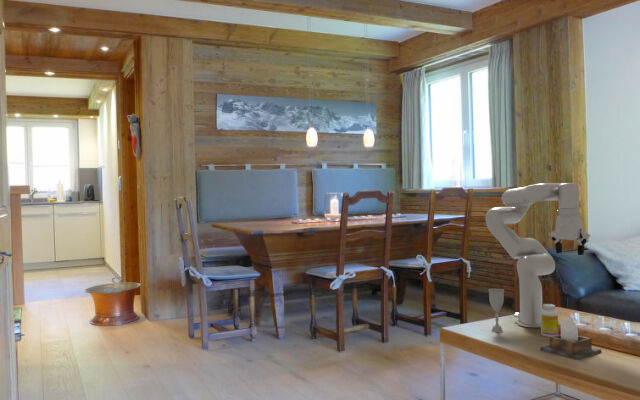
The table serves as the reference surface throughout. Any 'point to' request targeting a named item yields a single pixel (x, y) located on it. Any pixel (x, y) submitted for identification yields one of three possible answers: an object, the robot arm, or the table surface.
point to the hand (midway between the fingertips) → (569, 253)
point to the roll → (569, 330)
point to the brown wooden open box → (571, 347)
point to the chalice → (496, 305)
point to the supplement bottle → (549, 321)
